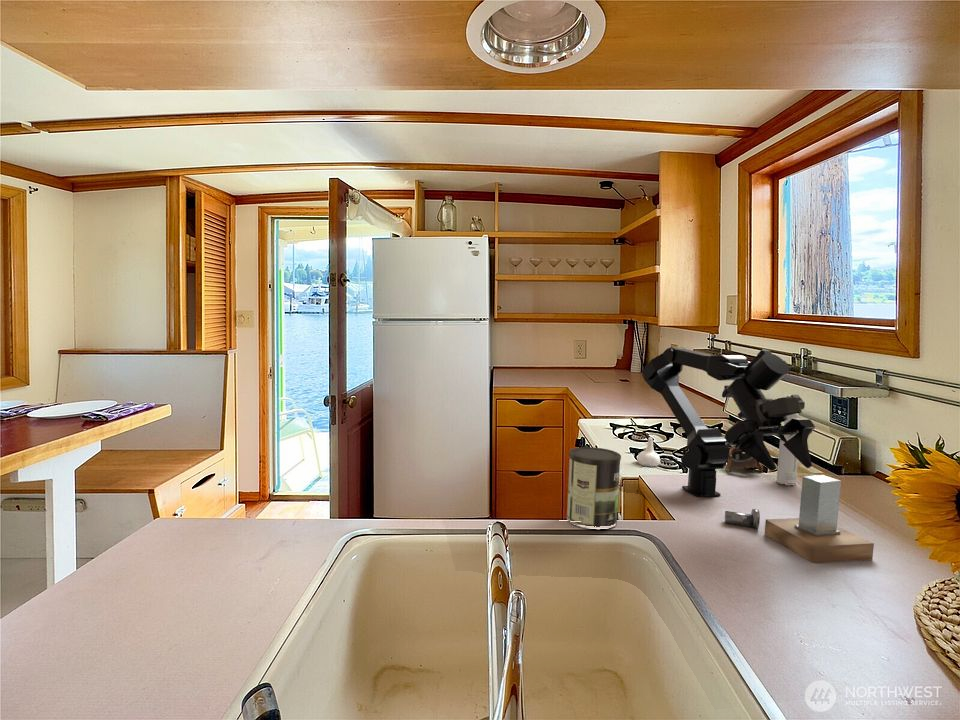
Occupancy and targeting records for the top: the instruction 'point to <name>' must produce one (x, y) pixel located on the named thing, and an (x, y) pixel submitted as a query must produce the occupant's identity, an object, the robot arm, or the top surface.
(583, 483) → the coffee can
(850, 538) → the stand
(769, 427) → the robot arm
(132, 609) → the top surface
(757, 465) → the pottery mug
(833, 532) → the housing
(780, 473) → the bottle
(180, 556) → the top surface
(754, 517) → the bolt
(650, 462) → the garlic bulb
